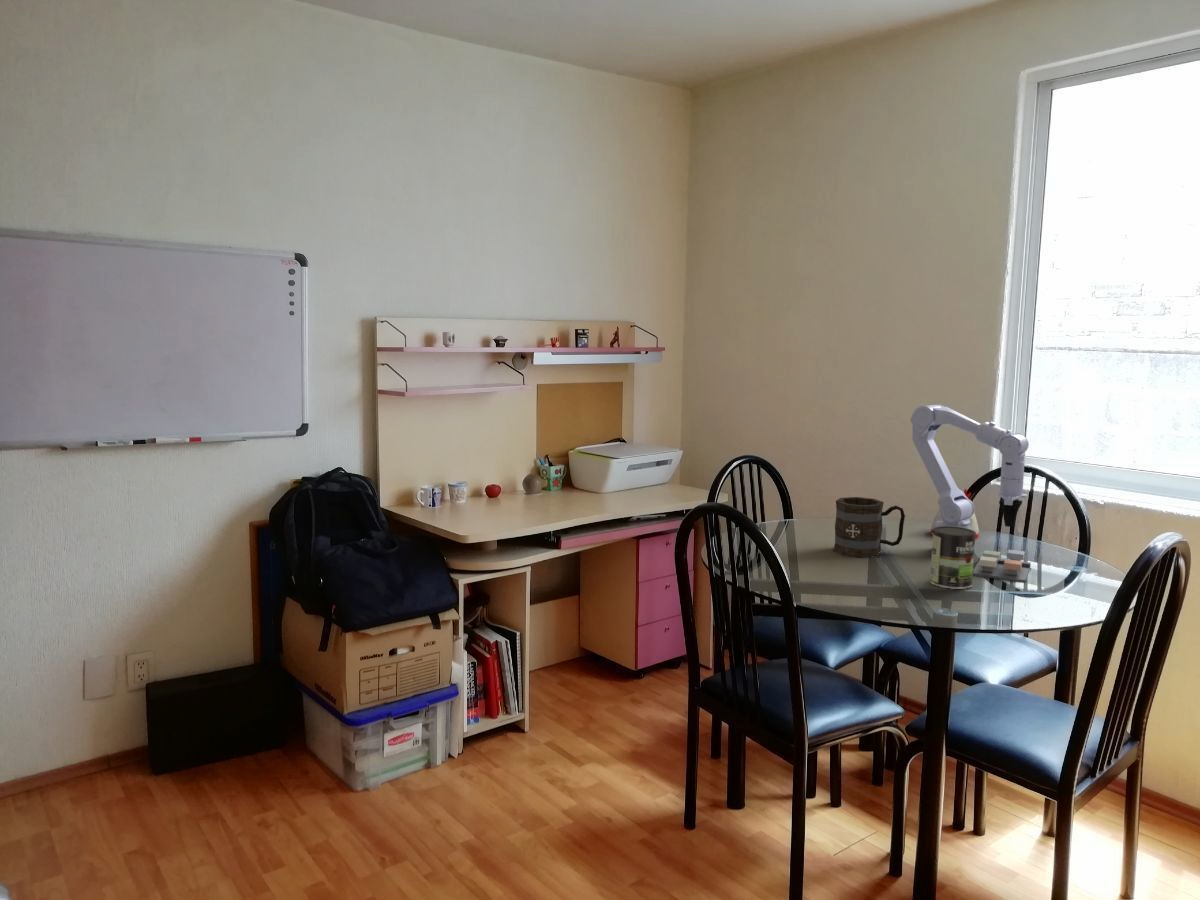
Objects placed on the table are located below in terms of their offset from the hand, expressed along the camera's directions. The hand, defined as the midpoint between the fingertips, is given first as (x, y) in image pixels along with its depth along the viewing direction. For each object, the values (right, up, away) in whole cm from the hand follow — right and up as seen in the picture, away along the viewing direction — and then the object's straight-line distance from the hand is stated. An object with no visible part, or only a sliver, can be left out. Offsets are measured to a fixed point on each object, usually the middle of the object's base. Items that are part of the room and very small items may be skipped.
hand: (1009, 526), depth 251 cm
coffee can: (-23, -14, -18) cm, 32 cm away
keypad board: (-6, -12, -7) cm, 15 cm away
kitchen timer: (-2, -6, +33) cm, 34 cm away
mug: (-36, -9, +13) cm, 39 cm away
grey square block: (-1, -10, -6) cm, 11 cm away
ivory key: (-10, -11, -9) cm, 17 cm away
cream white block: (-6, -10, -3) cm, 12 cm away
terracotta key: (-5, -12, -12) cm, 17 cm away
